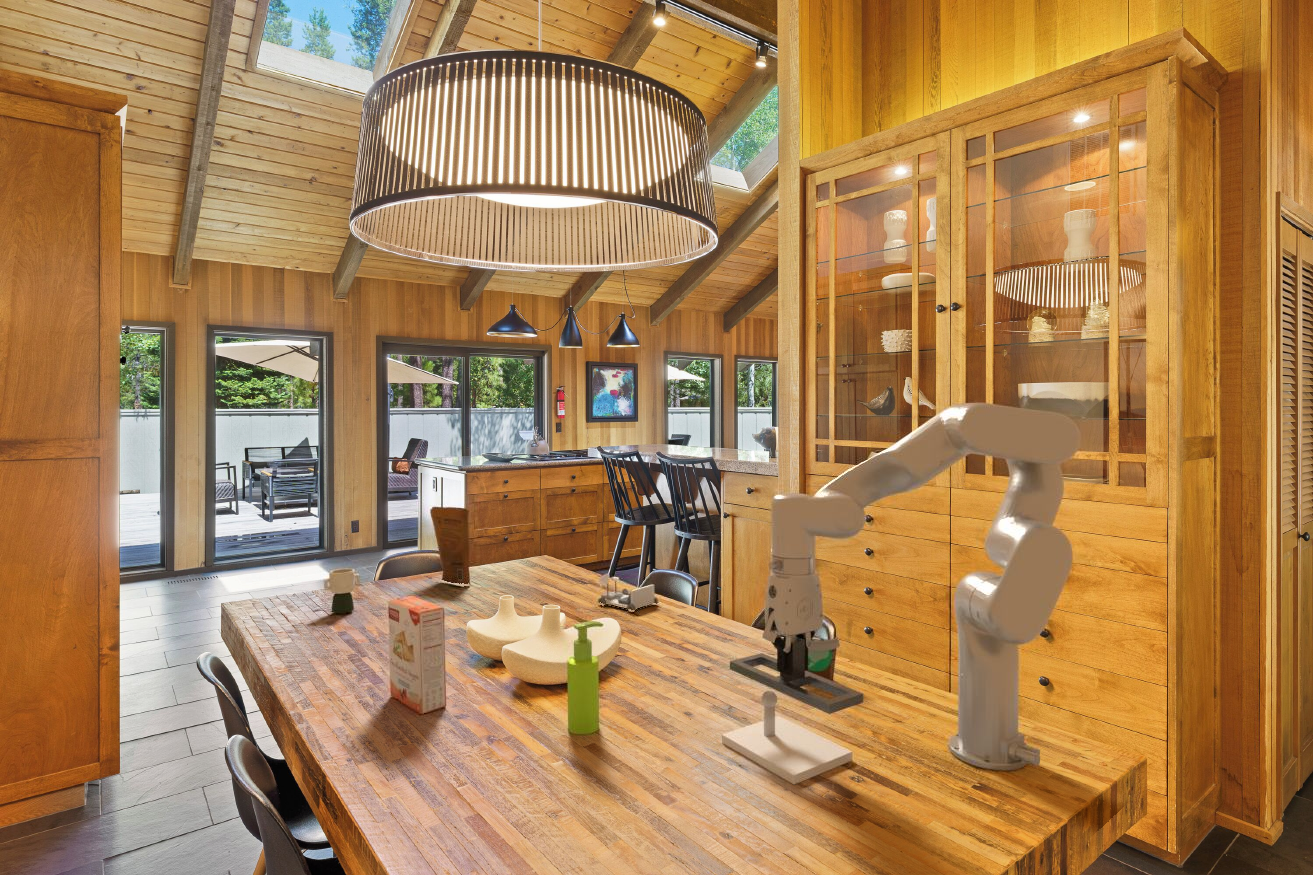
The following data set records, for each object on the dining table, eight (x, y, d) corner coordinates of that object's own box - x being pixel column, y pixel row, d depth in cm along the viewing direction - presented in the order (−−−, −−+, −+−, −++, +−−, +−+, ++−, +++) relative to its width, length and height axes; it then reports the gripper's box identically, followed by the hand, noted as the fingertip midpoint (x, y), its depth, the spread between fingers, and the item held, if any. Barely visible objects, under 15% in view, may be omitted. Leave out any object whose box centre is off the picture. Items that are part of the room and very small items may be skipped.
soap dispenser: (609, 728, 135) (608, 624, 134) (575, 737, 131) (574, 630, 131) (596, 717, 140) (595, 616, 139) (563, 725, 136) (562, 622, 136)
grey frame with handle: (863, 702, 116) (863, 653, 115) (829, 713, 111) (829, 663, 111) (761, 660, 135) (762, 619, 135) (729, 669, 131) (729, 626, 131)
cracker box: (388, 697, 151) (386, 599, 150) (415, 689, 155) (413, 594, 155) (419, 716, 141) (417, 611, 141) (447, 707, 145) (445, 606, 145)
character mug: (354, 607, 224) (354, 566, 223) (365, 611, 219) (364, 569, 219) (319, 614, 216) (318, 572, 215) (330, 618, 211) (329, 575, 210)
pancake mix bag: (462, 590, 245) (461, 509, 245) (429, 582, 257) (428, 505, 256) (478, 586, 251) (476, 507, 250) (445, 579, 262) (444, 503, 262)
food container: (777, 681, 159) (777, 636, 158) (786, 672, 164) (786, 629, 164) (833, 690, 153) (833, 644, 153) (839, 681, 158) (839, 636, 158)
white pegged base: (852, 760, 122) (852, 705, 122) (793, 784, 114) (793, 726, 114) (778, 723, 137) (778, 674, 136) (721, 742, 129) (721, 691, 128)
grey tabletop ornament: (591, 574, 226) (616, 568, 234) (591, 605, 226) (616, 597, 235) (633, 582, 214) (658, 575, 223) (633, 614, 214) (658, 606, 223)
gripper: (773, 575, 115) (773, 687, 115) (842, 563, 124) (841, 667, 125) (742, 567, 121) (742, 673, 122) (810, 556, 130) (809, 655, 131)
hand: (792, 669), depth 123 cm, fingers closed on grey frame with handle, 3 cm apart
